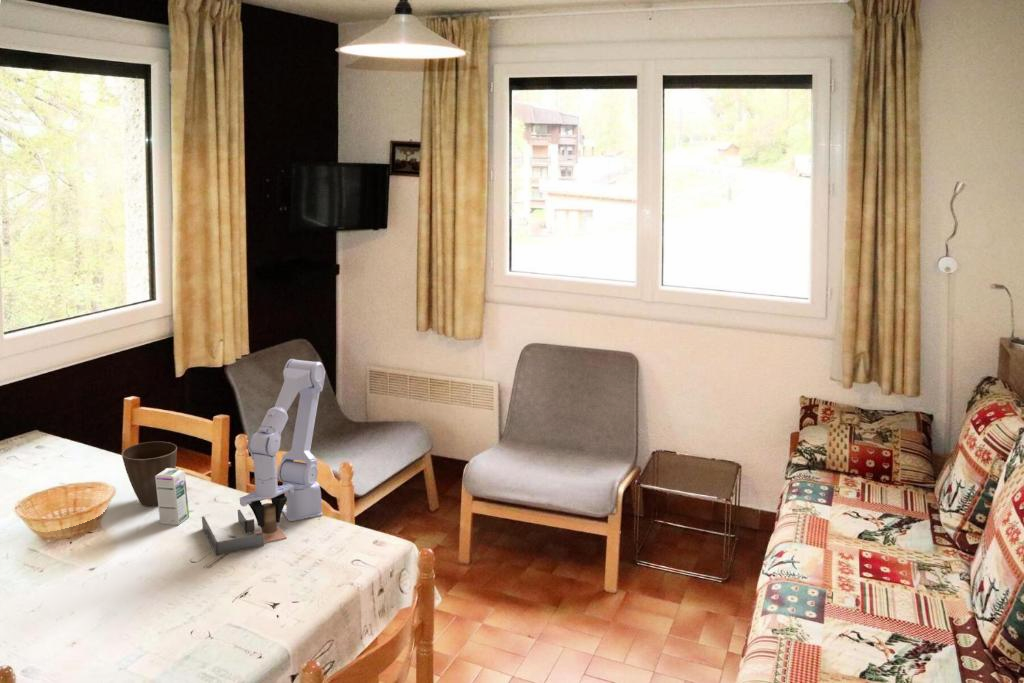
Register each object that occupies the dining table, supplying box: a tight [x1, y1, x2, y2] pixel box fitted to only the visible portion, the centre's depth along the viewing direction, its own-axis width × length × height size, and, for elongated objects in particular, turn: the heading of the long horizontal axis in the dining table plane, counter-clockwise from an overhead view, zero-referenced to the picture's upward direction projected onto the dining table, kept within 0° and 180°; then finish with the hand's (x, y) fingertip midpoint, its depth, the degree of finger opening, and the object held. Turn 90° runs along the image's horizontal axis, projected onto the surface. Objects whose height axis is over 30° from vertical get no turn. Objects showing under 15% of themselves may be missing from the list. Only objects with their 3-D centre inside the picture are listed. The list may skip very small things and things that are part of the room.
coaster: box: [253, 526, 288, 544], centre depth 252 cm, size 7×7×1 cm
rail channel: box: [201, 509, 265, 557], centre depth 251 cm, size 12×18×4 cm
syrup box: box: [155, 468, 190, 526], centre depth 260 cm, size 6×6×14 cm
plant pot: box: [121, 441, 178, 508], centre depth 272 cm, size 15×15×16 cm
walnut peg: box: [260, 502, 278, 534], centre depth 251 cm, size 4×4×7 cm
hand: (268, 523), depth 252 cm, fingers closed on walnut peg, 4 cm apart
